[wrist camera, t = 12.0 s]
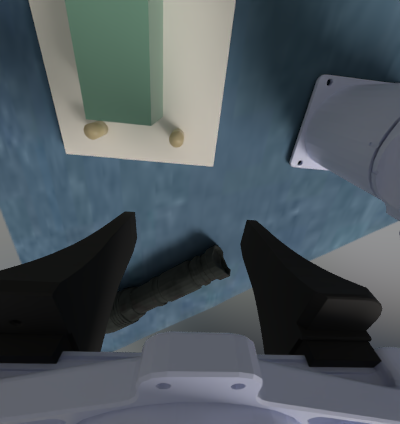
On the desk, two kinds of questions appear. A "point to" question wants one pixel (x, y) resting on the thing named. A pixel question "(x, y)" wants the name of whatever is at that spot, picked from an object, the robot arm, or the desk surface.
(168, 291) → the flashlight
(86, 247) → the robot arm
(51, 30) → the mounting plate
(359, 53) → the desk surface
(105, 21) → the board block
